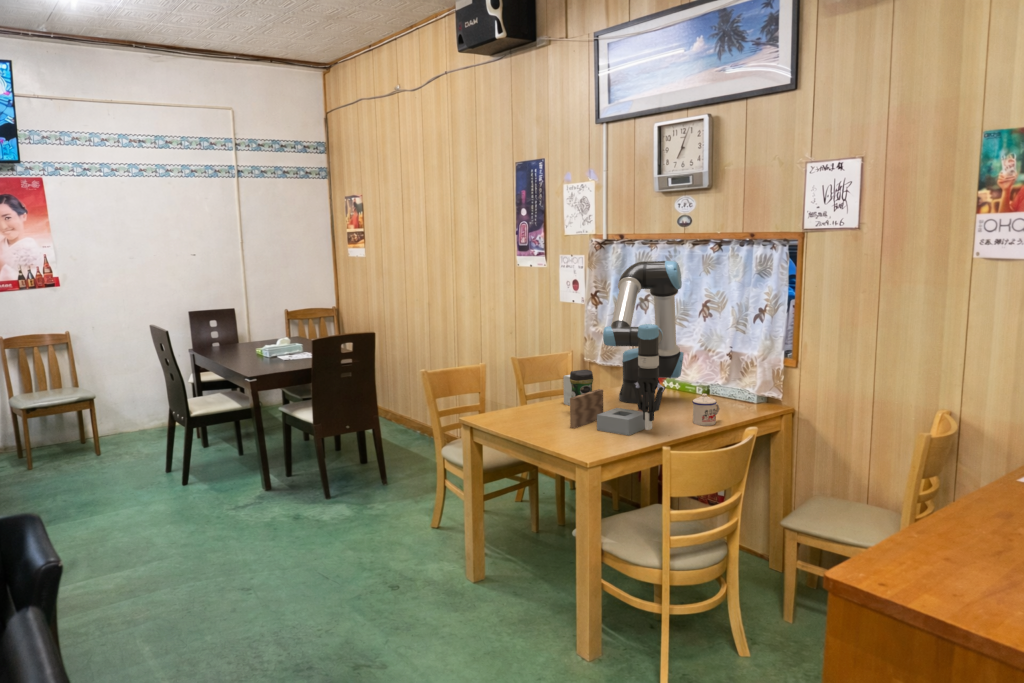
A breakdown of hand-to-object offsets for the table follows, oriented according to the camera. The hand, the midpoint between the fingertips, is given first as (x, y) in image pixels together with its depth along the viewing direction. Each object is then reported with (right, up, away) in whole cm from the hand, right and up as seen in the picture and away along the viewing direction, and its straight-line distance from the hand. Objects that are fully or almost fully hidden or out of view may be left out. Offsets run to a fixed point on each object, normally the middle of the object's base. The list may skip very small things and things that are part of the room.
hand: (648, 429), depth 268 cm
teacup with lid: (+26, +1, +14) cm, 29 cm away
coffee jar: (-21, +2, +34) cm, 40 cm away
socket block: (-9, -1, +8) cm, 11 cm away
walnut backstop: (-21, 0, +18) cm, 28 cm away
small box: (-23, +5, +52) cm, 57 cm away
